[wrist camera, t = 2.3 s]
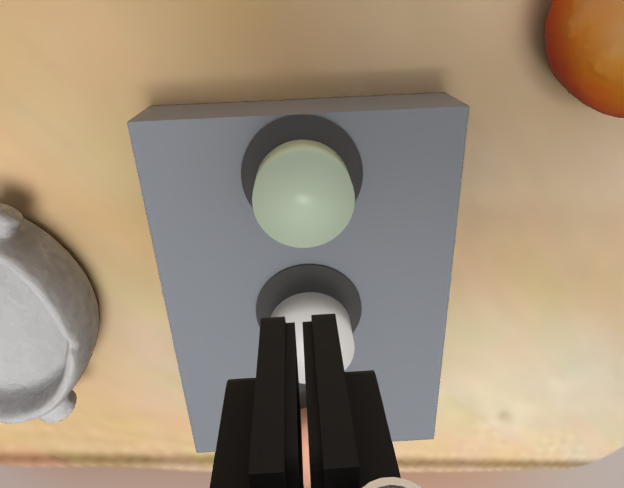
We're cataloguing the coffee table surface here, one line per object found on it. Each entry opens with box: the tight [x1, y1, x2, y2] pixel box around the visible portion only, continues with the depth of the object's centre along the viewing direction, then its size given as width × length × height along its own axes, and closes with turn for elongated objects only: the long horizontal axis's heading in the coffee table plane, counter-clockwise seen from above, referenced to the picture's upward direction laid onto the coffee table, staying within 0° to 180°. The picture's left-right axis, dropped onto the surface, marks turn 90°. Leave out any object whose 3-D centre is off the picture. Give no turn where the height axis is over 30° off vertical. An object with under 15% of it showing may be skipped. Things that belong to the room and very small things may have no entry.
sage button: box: [252, 140, 355, 248], centre depth 21 cm, size 4×4×2 cm
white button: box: [271, 292, 355, 384], centre depth 25 cm, size 4×4×2 cm
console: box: [127, 93, 469, 453], centre depth 29 cm, size 16×22×4 cm
